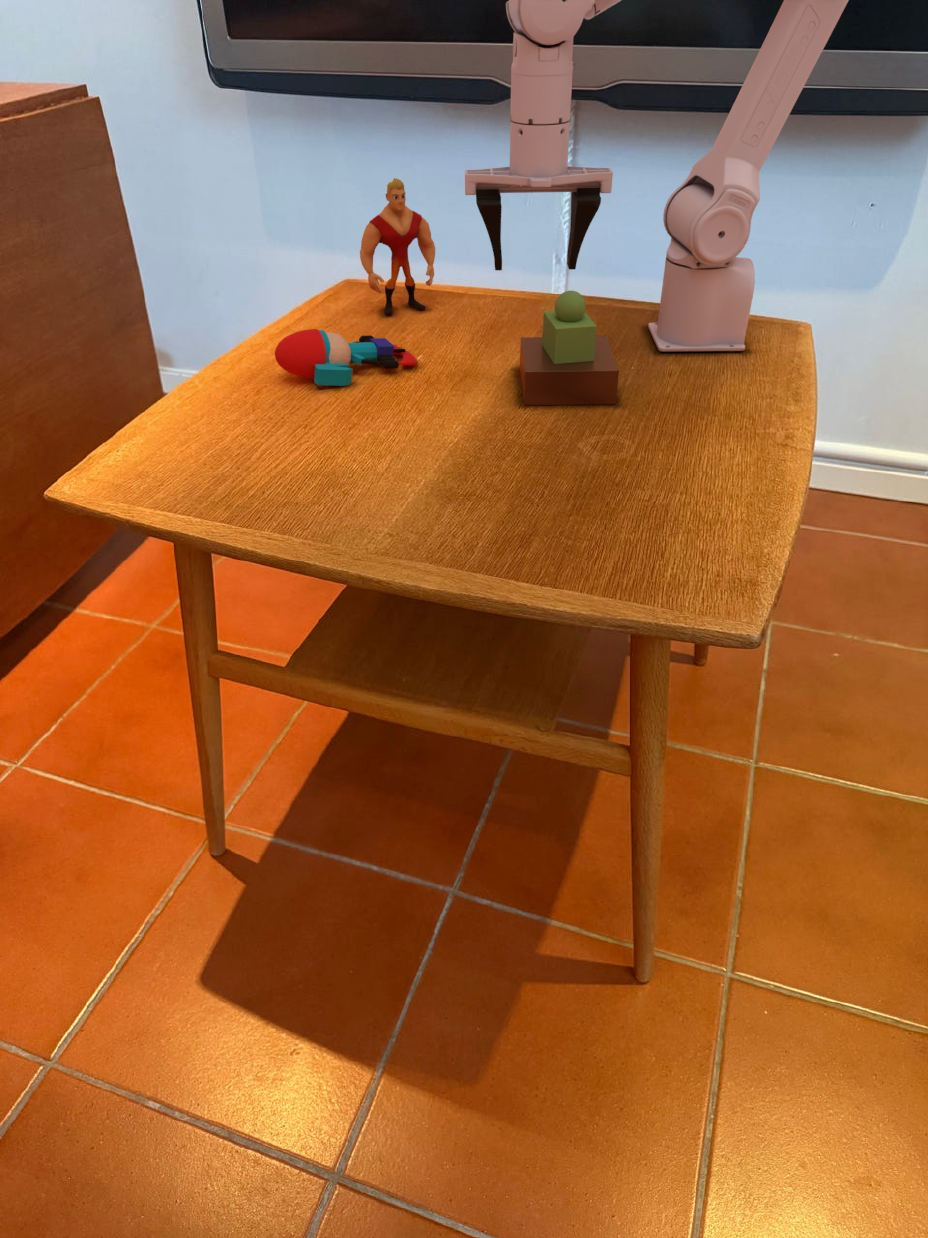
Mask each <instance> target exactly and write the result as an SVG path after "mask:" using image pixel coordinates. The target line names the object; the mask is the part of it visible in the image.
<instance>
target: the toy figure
mask: <svg viewBox="0 0 928 1238" xmlns="http://www.w3.org/2000/svg"><path fill="white" fill-rule="evenodd" d="M394 355H397V356H400V357H402V358H401V361H400V362H399V361H398V360H397V359H396V358H395V357H394ZM274 358H275V361H276V363H277V364H278V365H279V367H280V368H282V369H283V370H284V371H285V372H287V373H289V374H291V375H294V376H296V377H299V378H305V379H313V382H314V384H315V385H317V386H333V387H334V386H335V387H336V386H337V387H339V386H340V387H342V386H343V387H346V386H347V387H348V386H350V385H352V379H353V370H354V368H352V367H350V365H359V366H362V365H376V366H377V365H381V366H382V368H383V369H386V370H389V369H391V370H394V369H395V370H396V369H398V368H399V366H400V365H401V366H410V367H411V366H416V365H418V364H419V362H418V360H417V358H416V357H415V356H414V355H413V354H412V353H411V352H409V351H407V350H406V348H401V347H400V346H398V345H396V344H392V343H391V342H390V341H389V340H388V339H387V338H385V337H374V336H373V335H371V334H370V335H368V334H367V335H366V334H365V335H361V336H360V337H359V338H358V340H356V341H352V342H348V341H347V339H345V338H344V337H343V336H342V335H340V334H339V333H337V332H331V331H325V330H323V329H318V328H310V329H303V330H298V331H295V332H293V333H290V334H289V335H287V336H285V337H284V338H282V339H281V340H280V341H279V342H278V344H277V345H276V347H275V350H274Z"/></svg>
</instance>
